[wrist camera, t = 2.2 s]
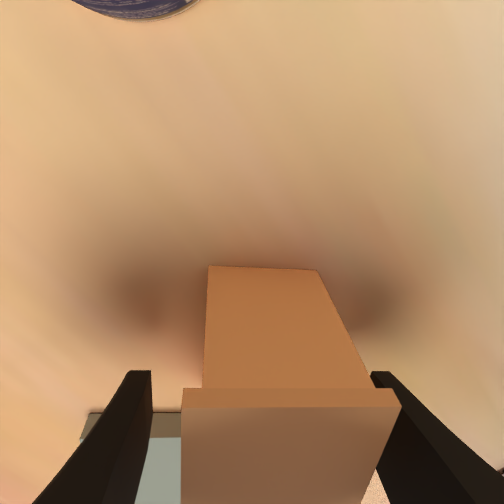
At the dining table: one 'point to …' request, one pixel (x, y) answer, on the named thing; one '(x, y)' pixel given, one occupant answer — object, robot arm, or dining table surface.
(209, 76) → the dining table surface
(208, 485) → the chute block
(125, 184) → the dining table surface
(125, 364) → the dining table surface
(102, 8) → the pill bottle
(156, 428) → the deck plate
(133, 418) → the robot arm
